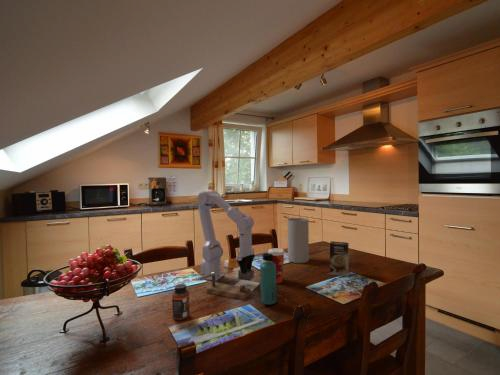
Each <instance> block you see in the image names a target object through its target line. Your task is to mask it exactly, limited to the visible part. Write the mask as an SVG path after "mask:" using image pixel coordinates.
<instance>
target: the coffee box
mask: <svg viewBox="0 0 500 375" xmlns="http://www.w3.org/2000/svg"><path fill="white" fill-rule="evenodd" d="M349 248H350V246H349V242H346V241H345V242H343V241H330V243H329V275H330V276H337V277H338V276H339V277H347V278H348V277H349Z"/></svg>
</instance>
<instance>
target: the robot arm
mask: <svg viewBox="0 0 500 375" xmlns="http://www.w3.org/2000/svg"><path fill="white" fill-rule="evenodd" d="M196 199H197V204H198V206H197V207H198V208H197V209H198V214H199V218H200V223H201V227H202V228H201V229H202V233H203V237H204V242H205V243H204V244H203V246H202V254H201V255H202V261H201V264H200V275H201V276H204V275H206V274H209V273H211V272H213V271H215V272H216V275H215V282H217V281H218V280H221V278H223V277H224V274H221V259H222V256H223V255H224V249H223V247H222V245H221V242H220V241H218V240H217V238H216V234H215V228H214V225H213V219H212V216H211V211H210V210H211V208H212V207H213V206H214V205H217V207H218V208H220V209H221V210H223V211H225V212H226V216H227V217H228V218H229V219H230V220H232V222H234V223H235V225H236V227H237V230H238V233H239V235H238V236H239V240H238V242H239V252H238V255H236V262H237V264H238V265H239V270H240V269H241V273H242V274H246V272H247V269H252V266H253V261H254V259H255V256H256V254H255V248H253V241H252V239H253V237H252V235H253V234H252V232H253V231H252V228H253V227H254V223H255V222H254V218H253V217H252V216H251V215H247V214H246V213H243V212H242V211H241V210H240V209H239V207H238V206H237V207H236V206H231V205H230V204H229V203H228V202H227V200H225V199H224V198H223V197H222V196H221V194H220V193H219V192H218V191H216V190H209V191H203V190H202V191H200V192H199V193H198V195H197V196H196ZM201 276H200V277H201ZM204 280H209V281H212V276H211V277H208V278H205V279H204Z"/></svg>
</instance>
